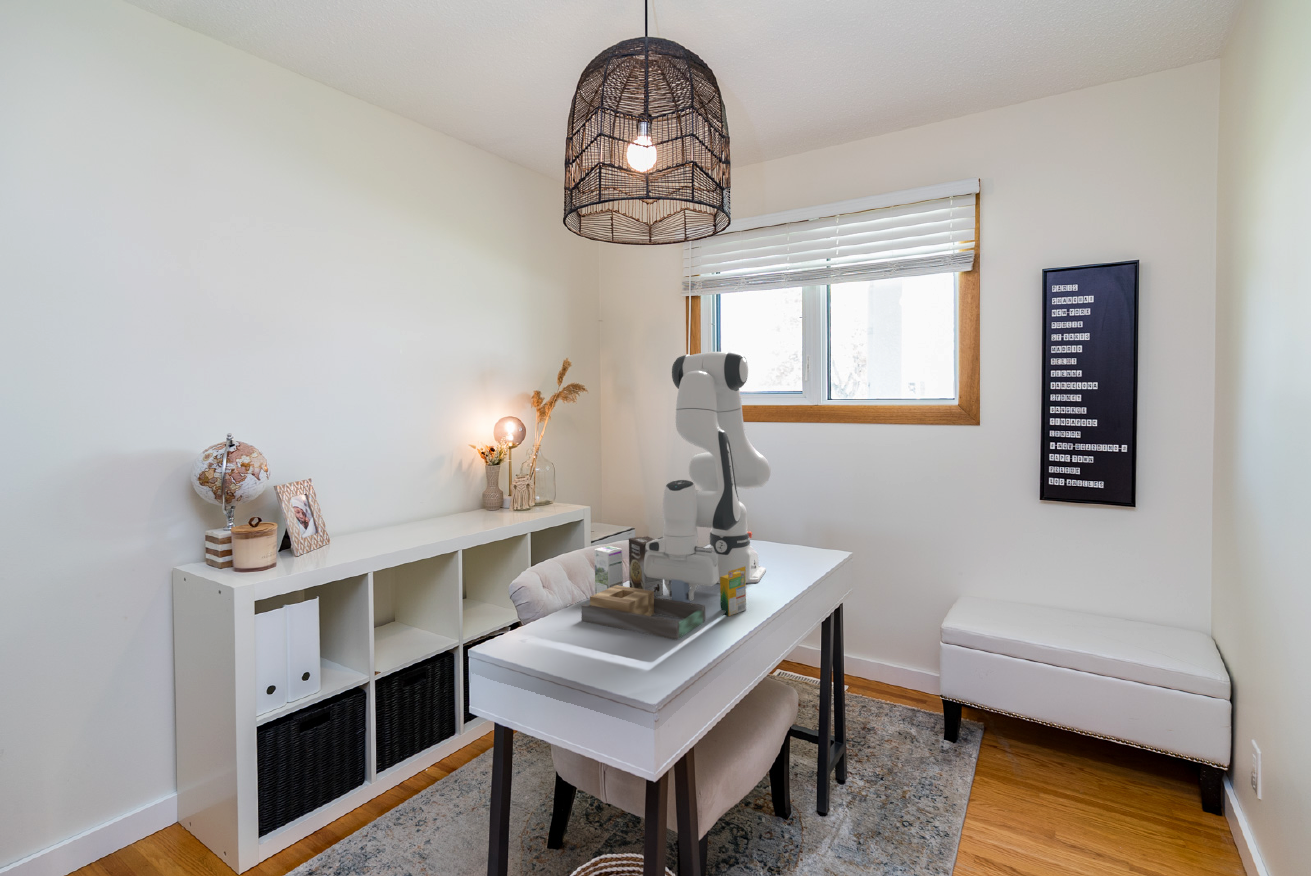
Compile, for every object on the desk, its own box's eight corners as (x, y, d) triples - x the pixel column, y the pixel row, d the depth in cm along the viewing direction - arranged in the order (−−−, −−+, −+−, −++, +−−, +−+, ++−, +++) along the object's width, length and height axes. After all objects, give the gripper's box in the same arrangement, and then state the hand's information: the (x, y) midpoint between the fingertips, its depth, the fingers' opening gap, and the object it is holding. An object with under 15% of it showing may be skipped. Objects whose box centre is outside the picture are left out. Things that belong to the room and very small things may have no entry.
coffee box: (628, 594, 182) (627, 538, 182) (648, 590, 186) (647, 535, 185) (643, 602, 174) (643, 543, 174) (664, 598, 178) (663, 541, 177)
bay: (614, 609, 169) (614, 590, 168) (705, 625, 155) (704, 605, 155) (581, 625, 156) (581, 605, 156) (676, 645, 143) (676, 623, 143)
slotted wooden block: (616, 607, 167) (616, 585, 166) (654, 613, 161) (653, 591, 161) (590, 620, 157) (589, 596, 157) (629, 627, 151) (629, 603, 151)
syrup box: (624, 599, 177) (623, 547, 176) (608, 604, 173) (607, 551, 172) (610, 595, 181) (609, 545, 180) (594, 600, 176) (593, 548, 176)
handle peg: (678, 611, 167) (677, 573, 166) (690, 613, 165) (690, 574, 164) (671, 615, 164) (671, 576, 163) (683, 617, 162) (683, 578, 161)
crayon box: (737, 607, 169) (737, 564, 168) (746, 610, 167) (746, 566, 166) (719, 614, 164) (719, 569, 163) (728, 616, 162) (728, 571, 161)
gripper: (722, 546, 161) (723, 600, 161) (652, 538, 171) (653, 589, 172) (712, 551, 155) (712, 607, 156) (640, 543, 166) (641, 595, 166)
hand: (680, 598), depth 164 cm, fingers closed on handle peg, 3 cm apart
